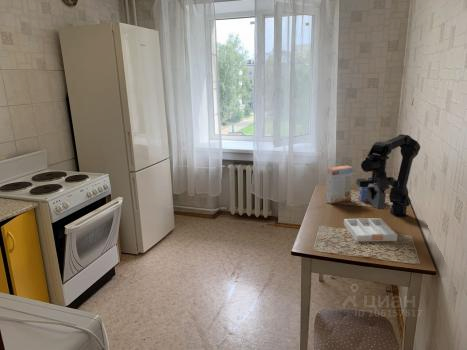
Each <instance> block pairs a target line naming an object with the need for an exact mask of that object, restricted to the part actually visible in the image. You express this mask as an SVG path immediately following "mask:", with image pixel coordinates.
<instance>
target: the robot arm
mask: <svg viewBox="0 0 467 350" xmlns="http://www.w3.org/2000/svg"><path fill="white" fill-rule="evenodd" d="M398 147H399V148H400V150H399V151H400V152H399V153H400V154H401V157H402V158H401V163H400V167H399V172H398V174H397V175H398V176H397V179H395V178H394V177H393V176H387V172H386V168H387V167H386V166H387V160H389V159H390V156H388V155H390V154H392V151H393V150H394V149H396V148H398ZM420 150H421V145H420V143H419V142H418V141H417V140H415V139H414V138H412V136H411V135H409V134H402V133H401V134H398V135H397V136H395V137H393V138H390V139H388V140H386V141H376V142H374V143H373V144H372V145H371V148H370V150H369V152H368V154H367V156H366V157H365V159H363V161H362V162H361V164H360V167H361V170H362V171H363V172H365V173H369V172H372V173H371V177H370V178H371V179H370V180H371V181H367V180H368V179H366V178H357V179H356V181H355V183H356V185H357V186H358V187H359V188H360V187H367V188H368V190H369V193H370V196H371V199H372V200H373V197H374V189H375V188H374V187H373V186H374V185H378V187H379V189H381V190H382V191H383V192H385V191H387V190H388V189H390V192H389V194H388V195H389V202H390V203H392V204H391V206H390V207H391V208H390V214H392V215H393V216H394V217H407V216H408V214H407V208H408V207H409V206H410V204H411V202H412V201H411V198H410V197H409V190H408V187H407V186H408V181H409V176H410V172H411V169H412V163H413V162H414V158H416V157H417V156H418V154H419V152H420ZM390 186H391V188H390Z"/></svg>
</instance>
